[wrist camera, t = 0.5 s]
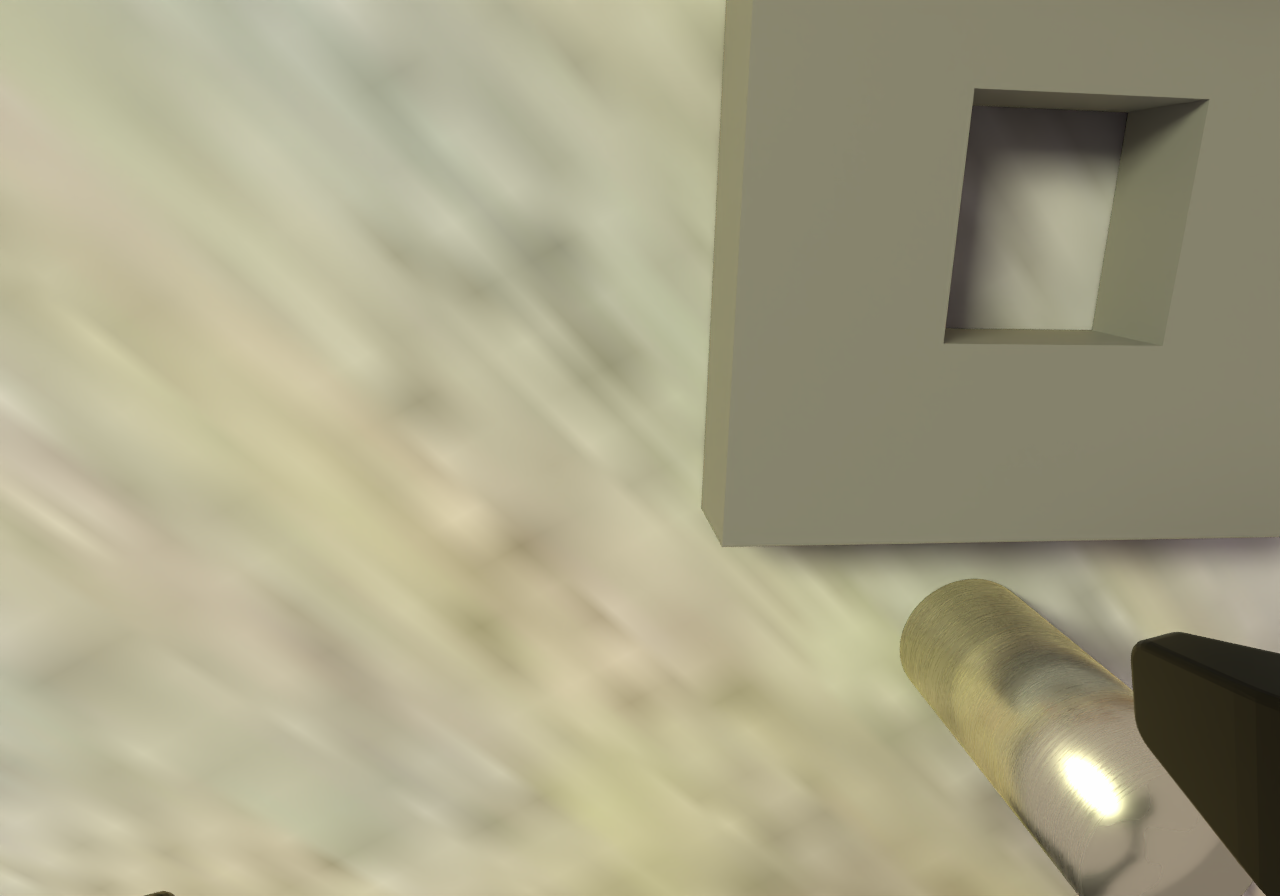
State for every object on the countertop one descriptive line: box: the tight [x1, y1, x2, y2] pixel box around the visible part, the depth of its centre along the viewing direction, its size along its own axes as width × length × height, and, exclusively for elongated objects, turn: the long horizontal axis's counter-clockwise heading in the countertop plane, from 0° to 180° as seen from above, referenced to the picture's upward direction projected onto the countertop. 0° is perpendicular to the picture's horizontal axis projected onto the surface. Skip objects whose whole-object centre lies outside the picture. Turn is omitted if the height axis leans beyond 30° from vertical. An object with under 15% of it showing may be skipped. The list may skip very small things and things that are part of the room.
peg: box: [900, 579, 1253, 896], centre depth 19 cm, size 4×4×8 cm
